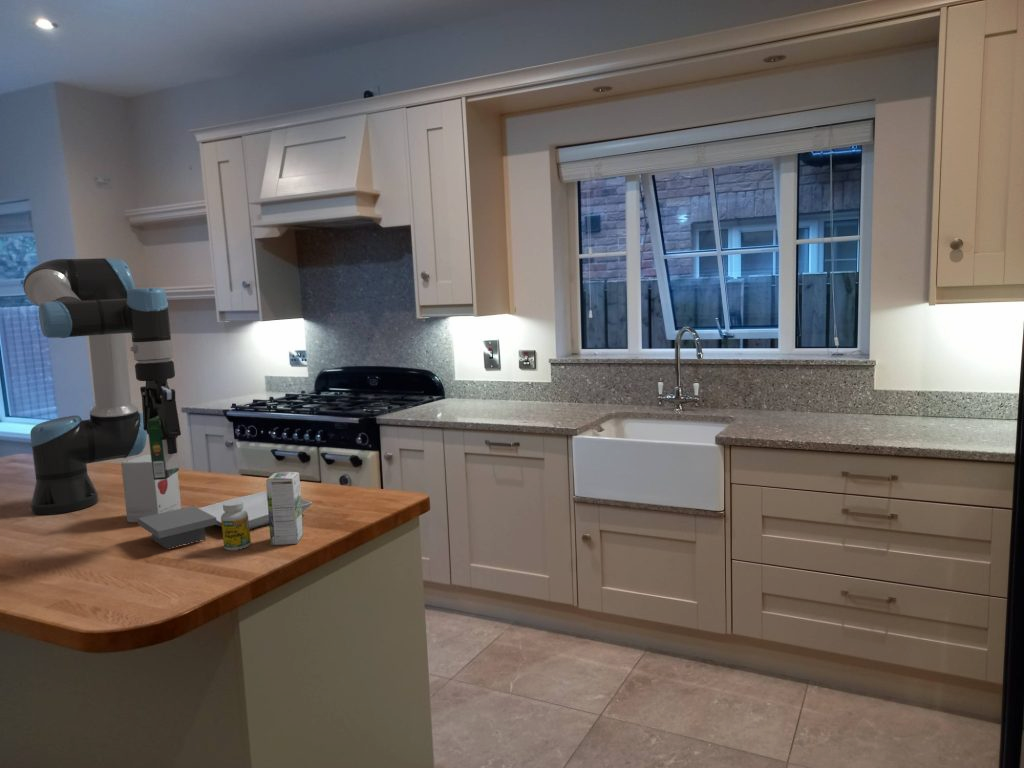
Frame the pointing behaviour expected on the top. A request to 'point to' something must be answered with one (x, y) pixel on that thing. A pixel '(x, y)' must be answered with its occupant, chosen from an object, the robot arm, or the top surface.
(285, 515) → the syrup box
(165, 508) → the supplement box
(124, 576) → the top surface
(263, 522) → the salad plate
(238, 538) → the supplement bottle
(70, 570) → the top surface
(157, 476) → the coffee box
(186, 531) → the grey stand
